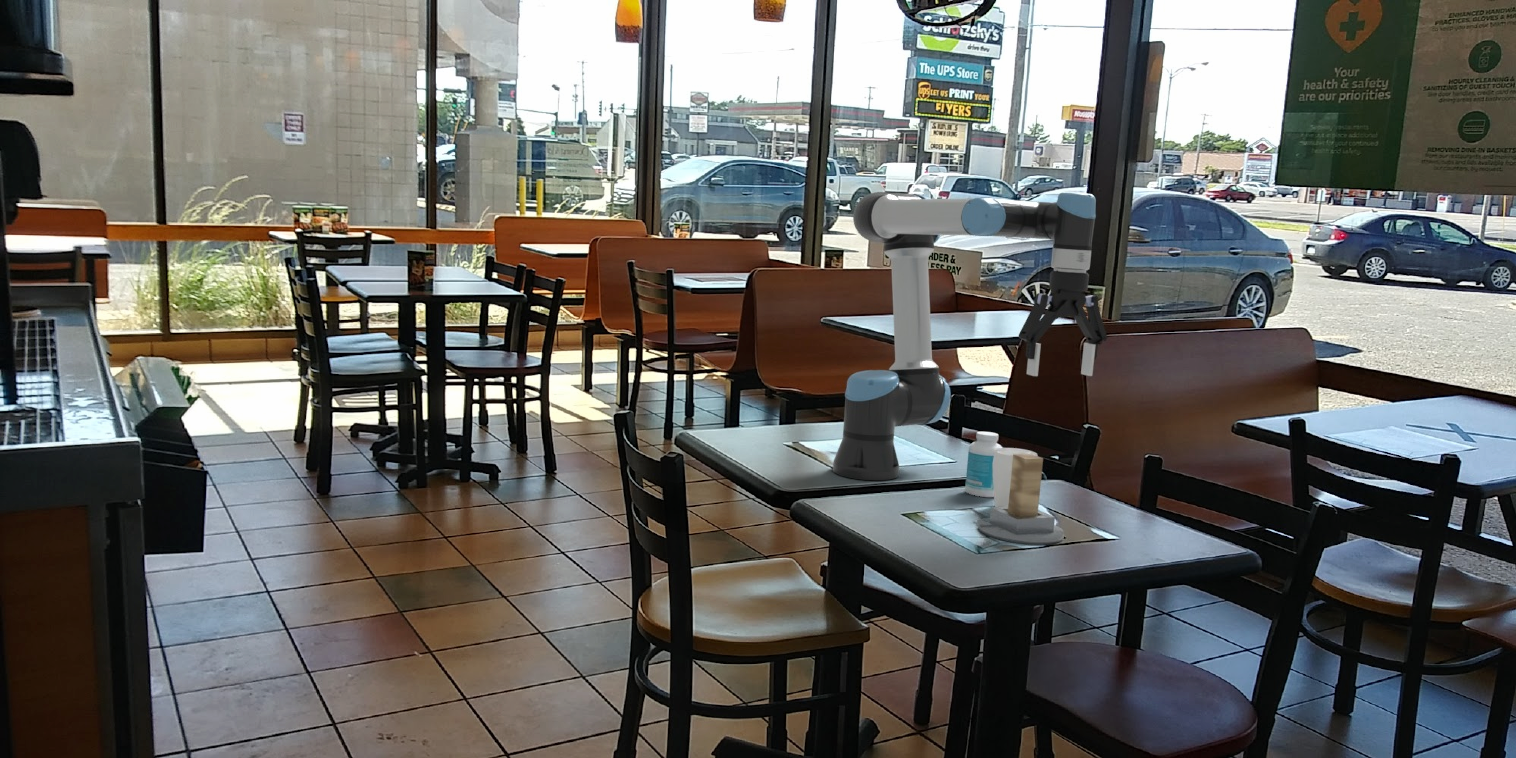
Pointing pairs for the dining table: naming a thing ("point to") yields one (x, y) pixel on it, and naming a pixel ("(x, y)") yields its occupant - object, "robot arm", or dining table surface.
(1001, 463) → the cup
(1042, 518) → the square tray on disc
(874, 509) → the dining table surface
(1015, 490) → the tan wooden block
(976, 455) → the pill bottle
